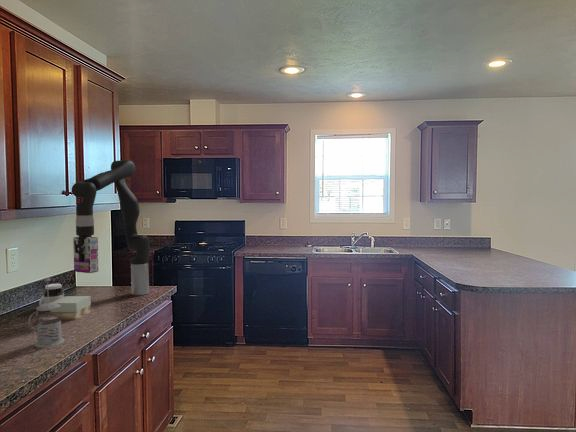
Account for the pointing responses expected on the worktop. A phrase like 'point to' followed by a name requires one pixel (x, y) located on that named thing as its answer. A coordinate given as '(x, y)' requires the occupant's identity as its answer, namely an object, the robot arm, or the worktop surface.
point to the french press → (48, 326)
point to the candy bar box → (87, 256)
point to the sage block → (72, 303)
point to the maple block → (72, 314)
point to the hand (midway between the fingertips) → (85, 260)
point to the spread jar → (52, 294)
